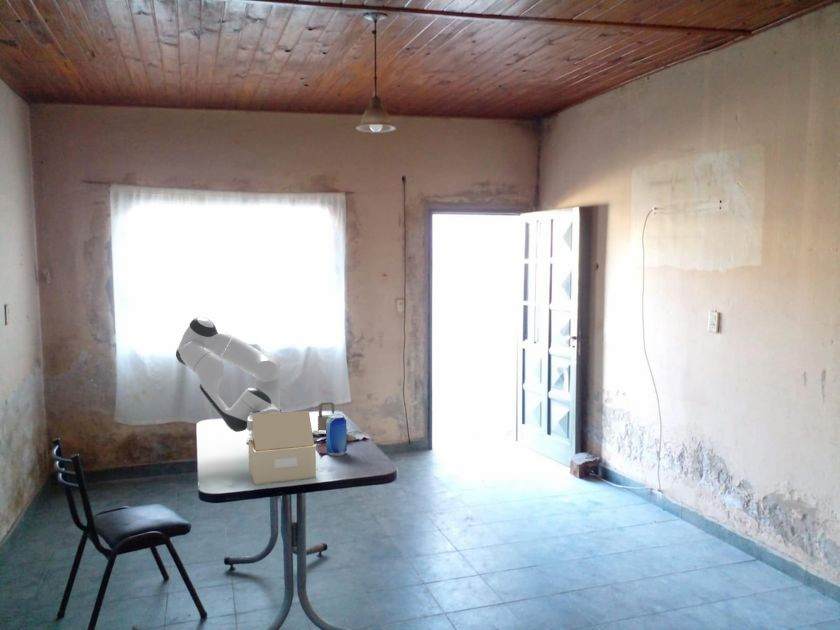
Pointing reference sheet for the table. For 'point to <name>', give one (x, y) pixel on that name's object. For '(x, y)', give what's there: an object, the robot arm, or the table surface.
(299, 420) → the carton flap
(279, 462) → the carton
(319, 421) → the padlock
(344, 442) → the beer can
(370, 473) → the table surface
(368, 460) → the table surface
